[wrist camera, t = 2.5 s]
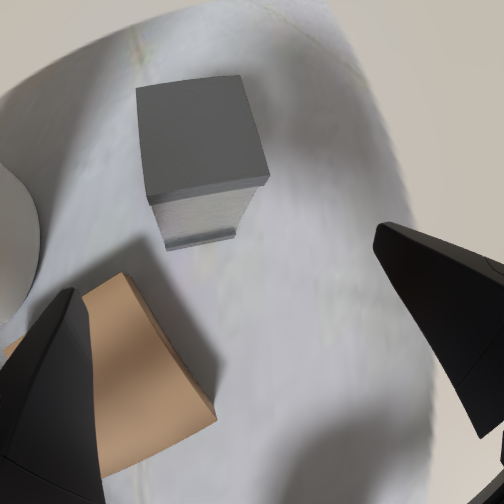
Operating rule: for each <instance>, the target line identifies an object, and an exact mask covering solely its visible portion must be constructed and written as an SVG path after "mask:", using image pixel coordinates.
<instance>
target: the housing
mask: <svg viewBox="0 0 504 504" xmlns="http://www.w3.org/2000/svg"><path fill="white" fill-rule="evenodd" d="M136 99H137V114H138V127H139V138H140V148H141V158H142V167H143V175H144V183H145V190H146V197H147V200H148V202H149V205H150V206H151V207H152V210H153V213H154V216H155V218H156V221H157V224H158V227H159V230H160V232H161V235H162V238H163V240H164V243H165V248H166V251H172V250H177V249H182V248H187V247H192V246H197V245H202V244H207V243H212V242H217V241H222V240H227V239H232V238H234V237H235V235H236V232H235V229H236V227H237V225H238V223H239V221H240V220H241V218H242V216H243V214H244V212H245V210H246V208H247V206H248V205H249V203H250V201H251V199H252V197H253V195H254V193H255V192H256V190H257V188H258V186H264V185H265V183H266V182H267V180H268V178H269V176H270V173H269V169H268V166H267V162H266V159H265V156H264V152H263V149H262V145H261V142H260V139H259V135H258V132H257V129H256V125H255V122H254V119H253V116H252V112H251V109H250V106H249V103H248V99H247V96H246V93H245V90H244V87H243V84H242V81H241V77H240V75H235V76H221V77H210V78H200V79H191V80H183V81H176V82H169V83H163V84H156V85H151V86H145V87H140V88H136Z"/></svg>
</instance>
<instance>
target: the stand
mask: <svg viewBox="0 0 504 504" xmlns="http://www.w3.org/2000/svg"><path fill="white" fill-rule="evenodd" d="M82 299H83V301H84V303H85V305H86V307H87V310H88V313H89V323H90V337H91V349H92V359H93V388H94V412H95V427H96V439H97V449H98V457H99V465H100V473H101V479H102V478H104V477H107V476H109V475H112V474H114V473H116V472H119V471H121V470H123V469H125V468H128V467H130V466H132V465H134V464H136V463H138V462H140V461H143V460H145V459H147V458H149V457H151V456H153V455H155V454H157V453H159V452H161V451H163V450H165V449H167V448H169V447H171V446H173V445H174V444H176V443H178V442H180V441H182V440H184V439H186V438H188V437H189V436H191V435H193V434H195V433H197V432H198V431H200V430H202V429H204V428H205V427H207V426H209V425H211V424H212V423H214V422H216V421H217V417H216V413H215V409H214V406H213V404H212V403H211V402H210V400H209V399H208V397H207V396H206V395H205V393H204V392H203V390H202V389H201V388H200V386H199V385H198V383H197V382H196V381H195V379H194V378H193V376H192V375H191V373H190V372H189V370H188V369H187V368H186V366H185V365H184V363H183V362H182V360H181V359H180V357H179V356H178V354H177V353H176V351H175V349H174V348H173V346H172V345H171V343H170V342H169V340H168V339H167V337H166V335H165V334H164V332H163V331H162V329H161V327H160V326H159V324H158V323H157V321H156V319H155V318H154V316H153V314H152V313H151V311H150V309H149V308H148V306H147V304H146V302H145V301H144V299H143V297H142V296H141V294H140V292H139V290H138V288H137V287H136V285H135V283H134V281H133V280H132V278H131V277H129V276H128V275H126V274H124V273H123V272H121V273H119V274H117V275H116V276H114V277H113V278H111V279H109V280H108V281H106V282H104V283H103V284H101V285H100V286H98V287H97V288H95V289H93V290H92V291H90V292H89V293H87V294H86V295H84V296H82ZM25 335H26V334H25ZM25 335H24V336H25ZM24 336H22V337H21V338H19V339H18V340H17V341H15V342H14V343H12V344H11V345H9V346H8V347H7V348H5V349H4V350H3V351H4V353H5V355H6V357H7V360H8V358H9V357H10V356H11V354H12V353H13V351H14V350H15V349H16V347H17V346H18V344H19V343H20V342H21V340H22V339H23V338H24Z"/></svg>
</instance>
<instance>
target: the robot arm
mask: <svg viewBox="0 0 504 504" xmlns="http://www.w3.org/2000/svg"><path fill="white" fill-rule="evenodd" d="M373 251H374V253H375V255H376V257H377V259H378V260H379V262H380V264H381V266H382V267H383V269H384V271H385V273H386V275H387V276H388V278H389V280H390V282H391V284H392V286H393V287H394V289H395V291H396V292H397V294H398V295H399V297H400V298H401V300H402V301H403V303H404V304H405V306H406V308H407V309H408V311H409V312H410V314H411V315H412V317H413V318H414V320H415V322H416V323H417V325H418V326H419V328H420V330H421V331H422V333H423V335H424V336H425V338H426V340H427V341H428V343H429V345H430V346H431V348H432V350H433V351H434V353H435V355H436V356H437V358H438V360H439V362H440V363H441V365H442V367H443V369H444V370H445V372H446V374H447V376H448V378H449V379H450V381H451V383H452V385H453V387H454V388H455V391H456V393H457V395H458V397H459V399H460V400H461V402H462V404H463V406H464V408H465V410H466V412H467V414H468V416H469V418H470V420H471V423H472V425H473V427H474V429H475V431H476V433H477V435H478V437H479V438H480V439H482V438H483V437H484V436H485V435H487V434H488V433H489V432H491V431H492V430H493V429H494V428H495V427H497V426H498V425H499V424H500V423H502V422H503V421H504V264H502V263H499V262H497V261H494V260H492V259H489V258H487V257H485V256H484V257H483V256H482V255H479V254H477V253H475V252H472V251H469V250H467V249H464V248H462V247H459V246H456V245H454V244H451V243H449V242H446V241H443V240H441V239H438V238H435V237H432V236H429V235H427V234H424V233H421V232H418V231H416V230H413V229H410V228H407V227H404V226H401V225H398V224H395V223H392V222H384V223H380V224H378V226H377V228H376V233H375V238H374V242H373ZM500 461H501V463H502V464H503V466H504V431H503V438H502V450H501V459H500ZM0 504H106V503H105V497H104V492H103V486H102V479H101V473H100V465H99V457H98V449H97V439H96V427H95V412H94V388H93V359H92V349H91V337H90V323H89V313H88V310H87V307H86V305H85V303H84V301H83V299H82V297H81V295H80V293H79V291H78V289H77V288H76V287H70V288H65V289H62V290H61V291H60V292H59V294H58V295H57V296H56V297H55V298H54V300H53V301H52V302H51V303H50V304H49V306H48V307H47V308H46V309H45V311H44V312H43V313H42V314H41V316H40V317H39V318H38V319H37V321H36V322H35V323H34V325H33V326H32V327H31V328H30V330H29V331H28V332H27V334H26V335H25V336H24V338H23V339H22V340H21V342H20V343H19V344H18V346H17V347H16V349H15V350H14V351H13V353H12V354H11V356H10V357H9V358H8V360H7V361H6V363H5V364H4V366H3V367H2V369H1V370H0ZM467 504H504V469H503V470H502V471H501V472H500V473H499V474H498V475H497V477H496V478H494V479H493V480H492V481H491V483H489V484H488V485H487V486H486V487H485V488H484V489H483V490H482V491H481V492H480V493H479V494H478V495H476V497H474V498H473V499H472V500H471V501H470V502H469V503H467Z"/></svg>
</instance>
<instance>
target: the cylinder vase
mask: <svg viewBox="0 0 504 504" xmlns="http://www.w3.org/2000/svg"><path fill="white" fill-rule="evenodd" d="M39 249H40V227H39V220H38V214H37V210H36V207H35V204H34V201H33V199H32V197H31V195H30V193H29V191H28V190H27V188H26V187H25V186H24V184H23V183H22V182H21V181H20V180H19V179H17V178H16V177H15V176H14V175H13V174H12V173H11V172H10V171H9V170H8V169H7V168H6V167H5V166H3V165H2V164H1V163H0V326H2V325H3V324H5V323H6V322H7V321H8V320H9V319H10V318H11V317H12V316H13V315H14V314H15V313H16V312H17V311H18V309H19V308H20V306H21V305H22V303H23V302H24V300H25V298H26V296H27V294H28V292H29V290H30V287H31V285H32V282H33V279H34V276H35V272H36V268H37V263H38V258H39Z"/></svg>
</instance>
